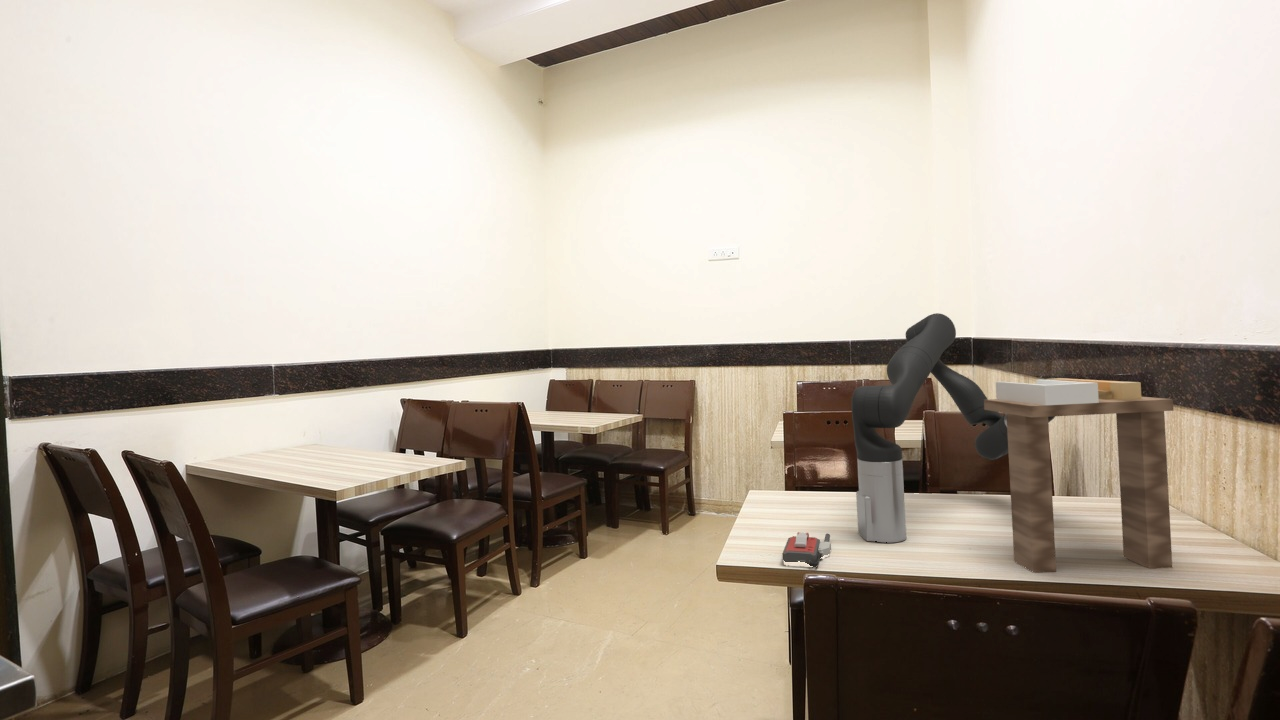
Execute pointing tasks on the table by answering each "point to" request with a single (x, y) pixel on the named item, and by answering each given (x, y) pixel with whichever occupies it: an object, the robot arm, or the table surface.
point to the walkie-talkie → (806, 549)
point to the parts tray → (1048, 392)
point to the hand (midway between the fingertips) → (1067, 381)
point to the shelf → (1137, 475)
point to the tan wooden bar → (1114, 388)
